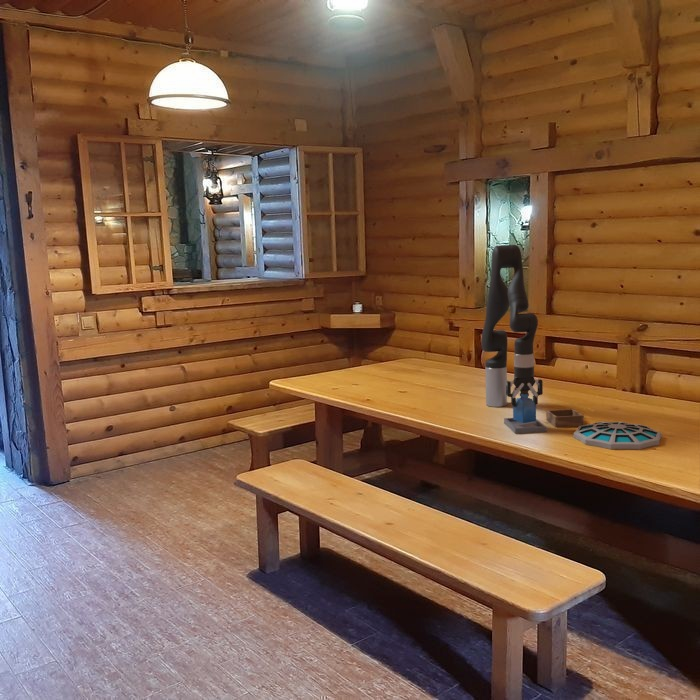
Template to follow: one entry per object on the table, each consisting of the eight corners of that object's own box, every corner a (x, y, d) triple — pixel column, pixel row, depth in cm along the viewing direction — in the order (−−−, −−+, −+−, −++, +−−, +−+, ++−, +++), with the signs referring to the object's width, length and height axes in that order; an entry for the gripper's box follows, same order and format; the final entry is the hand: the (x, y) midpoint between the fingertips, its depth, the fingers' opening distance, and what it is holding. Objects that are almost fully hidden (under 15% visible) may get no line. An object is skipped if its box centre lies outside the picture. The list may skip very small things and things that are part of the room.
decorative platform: (558, 440, 266) (558, 427, 265) (596, 423, 286) (596, 411, 286) (641, 456, 244) (641, 441, 244) (676, 436, 264) (676, 423, 264)
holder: (546, 420, 294) (546, 410, 293) (573, 418, 294) (573, 408, 294) (555, 427, 283) (555, 417, 282) (583, 425, 283) (583, 415, 283)
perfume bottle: (513, 419, 286) (512, 389, 284) (526, 417, 288) (526, 387, 286) (522, 423, 280) (522, 392, 278) (536, 420, 283) (535, 390, 281)
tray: (504, 423, 292) (504, 418, 292) (533, 421, 293) (533, 416, 292) (515, 433, 276) (515, 428, 276) (546, 431, 277) (546, 426, 277)
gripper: (539, 362, 285) (539, 403, 287) (503, 364, 284) (503, 405, 287) (545, 365, 277) (545, 407, 280) (508, 367, 277) (508, 409, 279)
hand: (524, 406), depth 283 cm, fingers closed on perfume bottle, 7 cm apart
